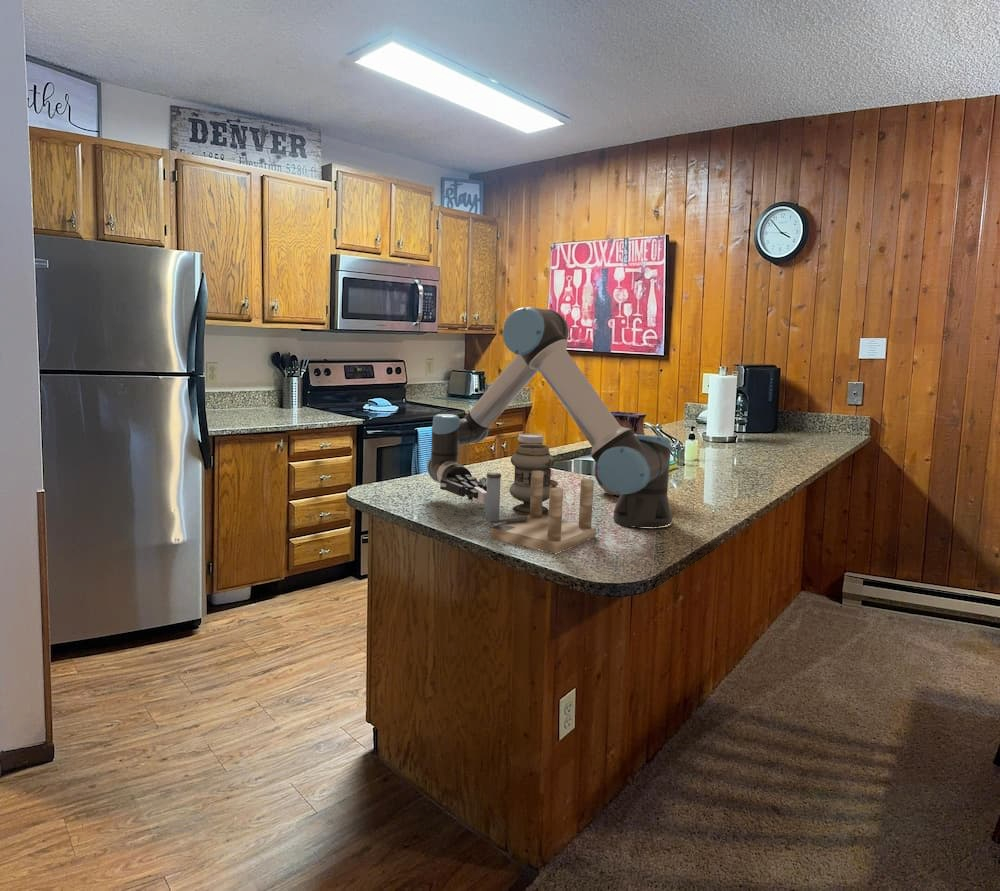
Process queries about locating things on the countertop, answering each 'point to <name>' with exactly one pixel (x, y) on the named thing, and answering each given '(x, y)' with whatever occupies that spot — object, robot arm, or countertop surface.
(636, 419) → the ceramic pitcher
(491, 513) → the folding leg
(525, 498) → the apothecary jar
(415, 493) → the countertop surface
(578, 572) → the countertop surface
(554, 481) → the cup and saucer
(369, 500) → the countertop surface
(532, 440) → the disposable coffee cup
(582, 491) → the ash stool
